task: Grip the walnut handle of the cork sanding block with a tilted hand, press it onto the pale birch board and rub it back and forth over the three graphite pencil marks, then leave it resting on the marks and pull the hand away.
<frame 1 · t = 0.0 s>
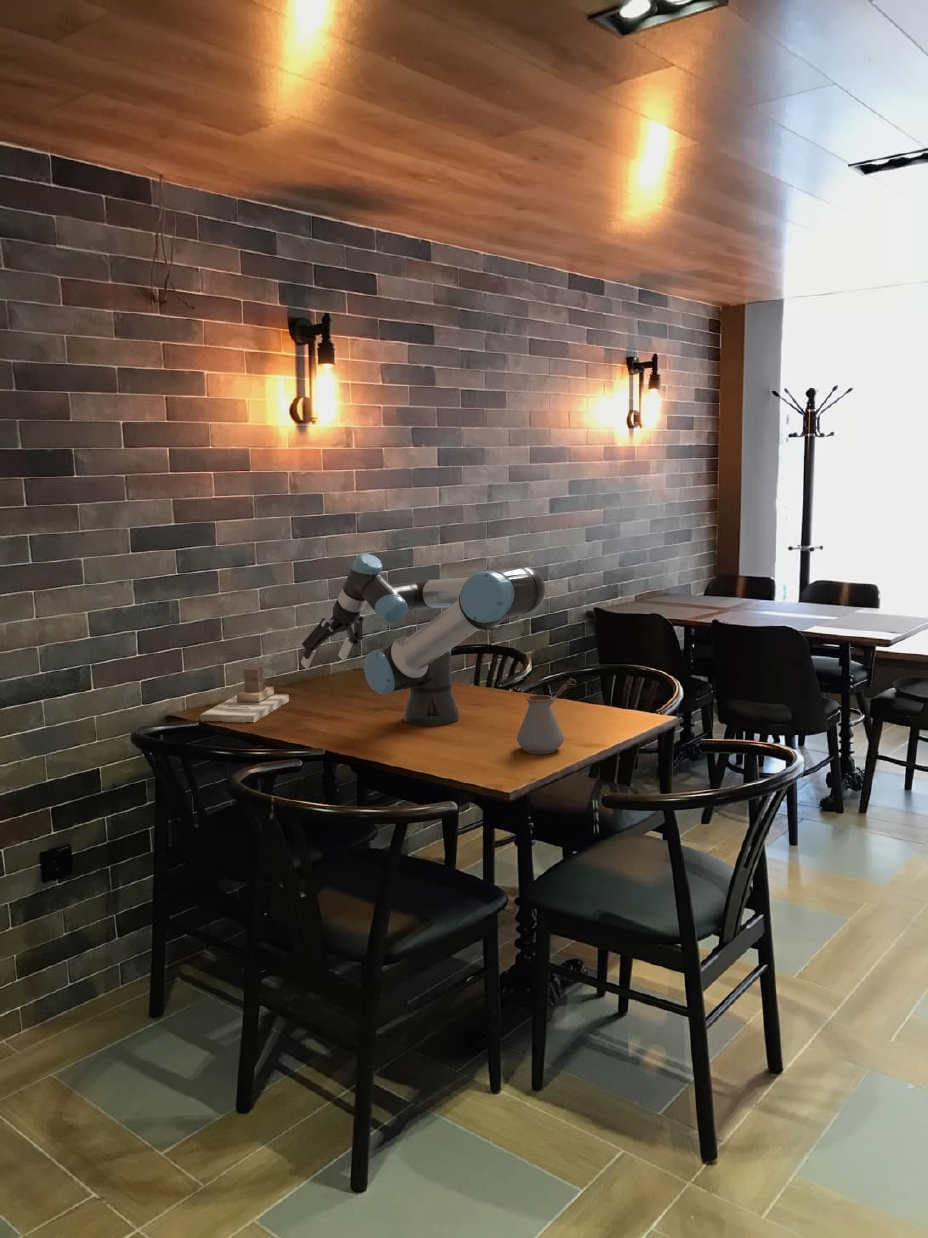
hand: (323, 661, 276), 15 cm above the table, tool tilted 35°, fingers open, 13 cm apart
coffee pot: (551, 745, 240), on the table
birch board: (246, 710, 286), on the table
sanding block: (255, 698, 292), point 2 cm above the table, touching birch board
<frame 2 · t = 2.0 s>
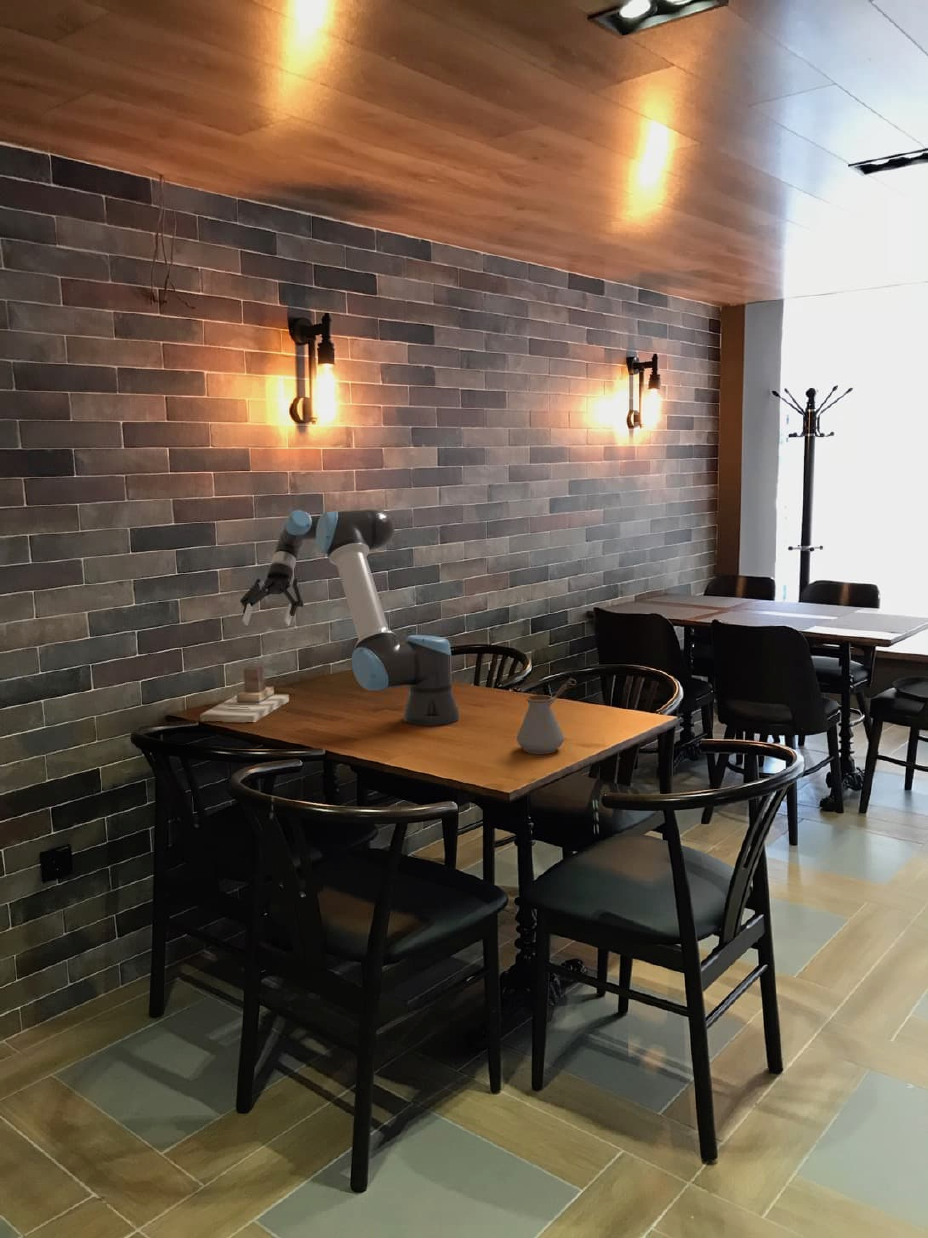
hand: (265, 623, 300), 23 cm above the table, tool tilted 45°, fingers open, 13 cm apart
nothing on the table moved.
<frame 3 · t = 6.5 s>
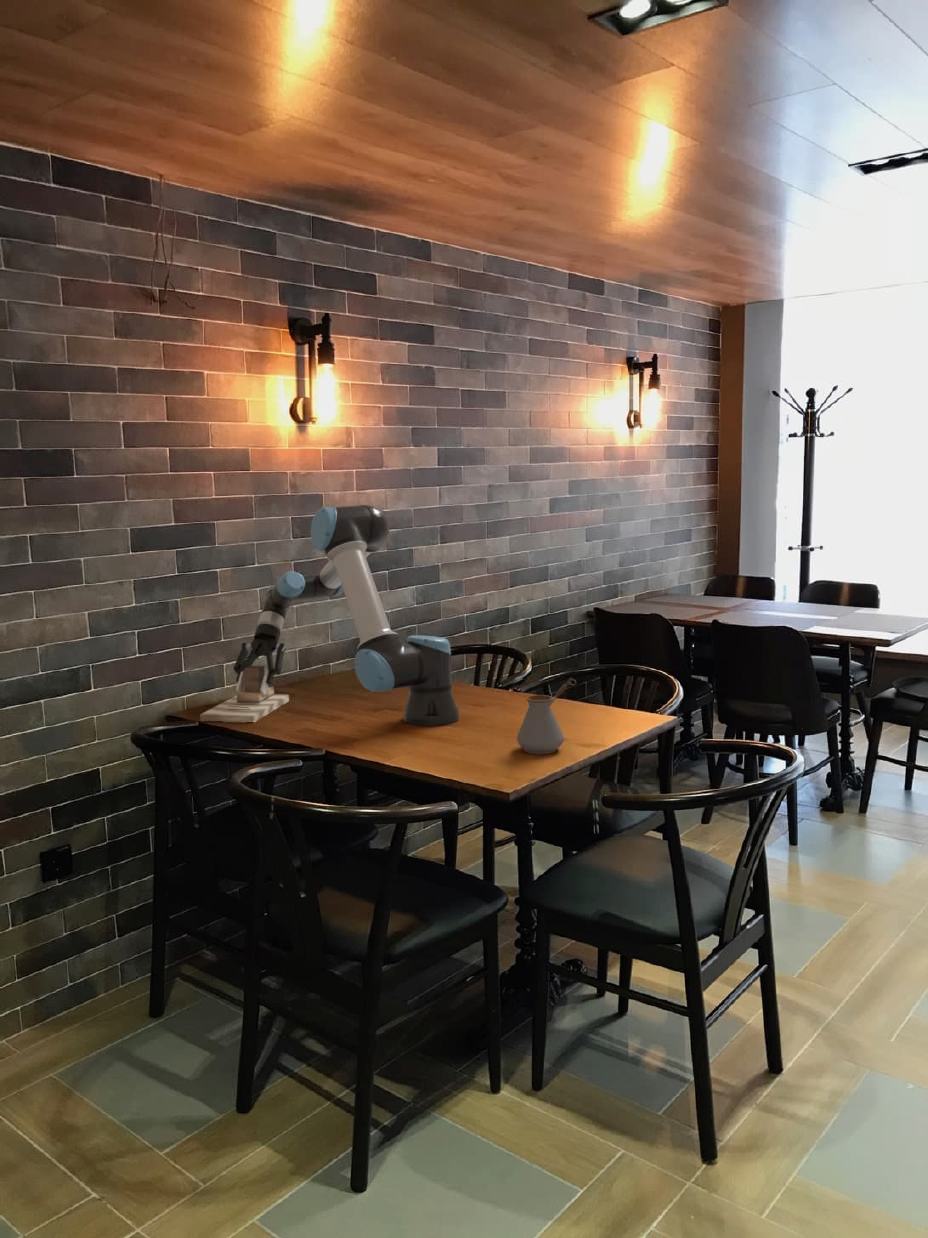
hand: (250, 692, 288), 5 cm above the table, tool tilted 45°, fingers closed on sanding block, 7 cm apart
sanding block: (255, 698, 292), point 2 cm above the table, touching birch board, gripper
everything else where it was.
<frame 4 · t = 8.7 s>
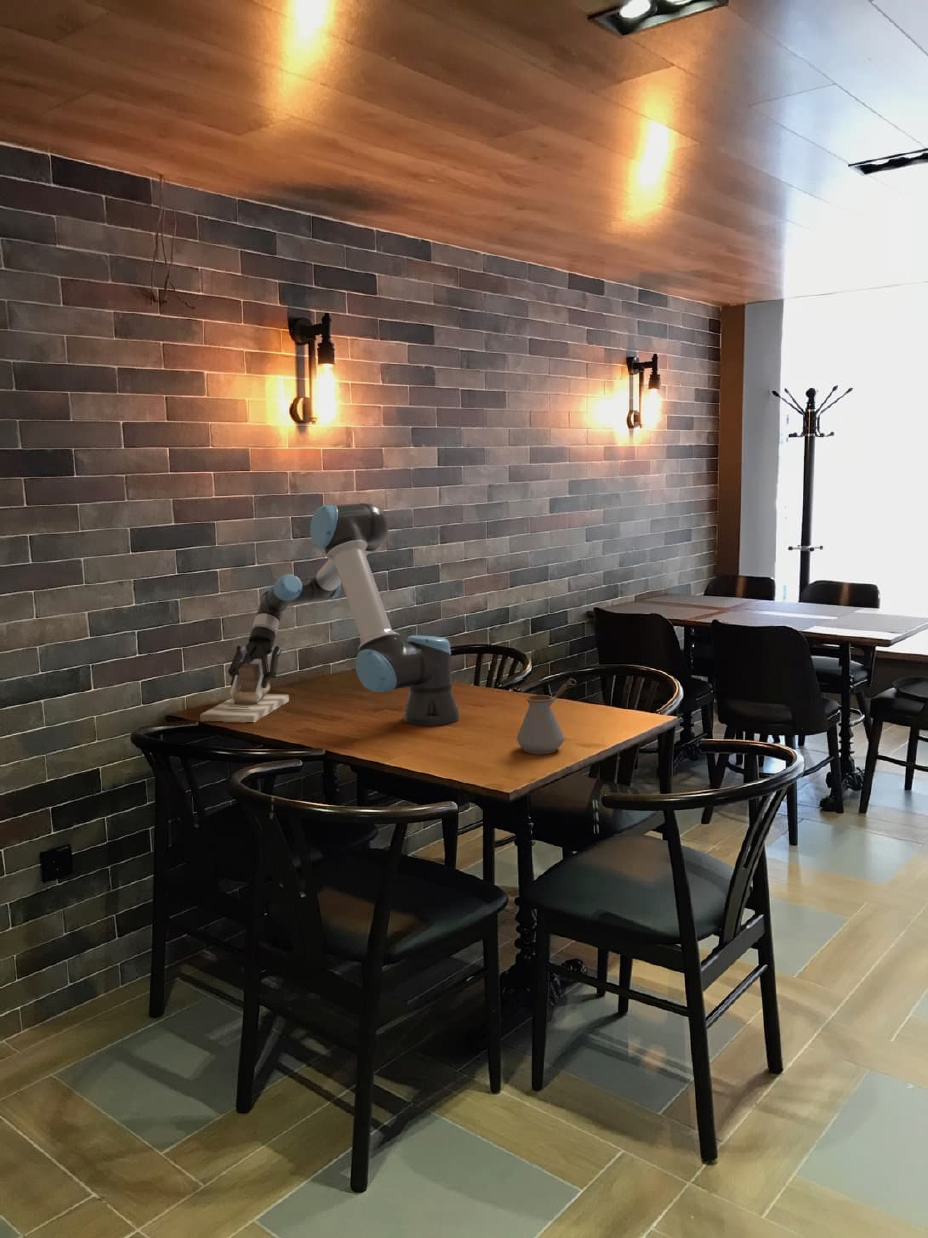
hand: (245, 696, 286), 4 cm above the table, tool tilted 45°, fingers closed on sanding block, 7 cm apart
sanding block: (252, 696, 291), point 3 cm above the table, tilted 10°, touching birch board, gripper
everything else where it was.
when the fingers open (5 cm above the table, at t = 16.7 s): sanding block drops 2 cm, resting on birch board.
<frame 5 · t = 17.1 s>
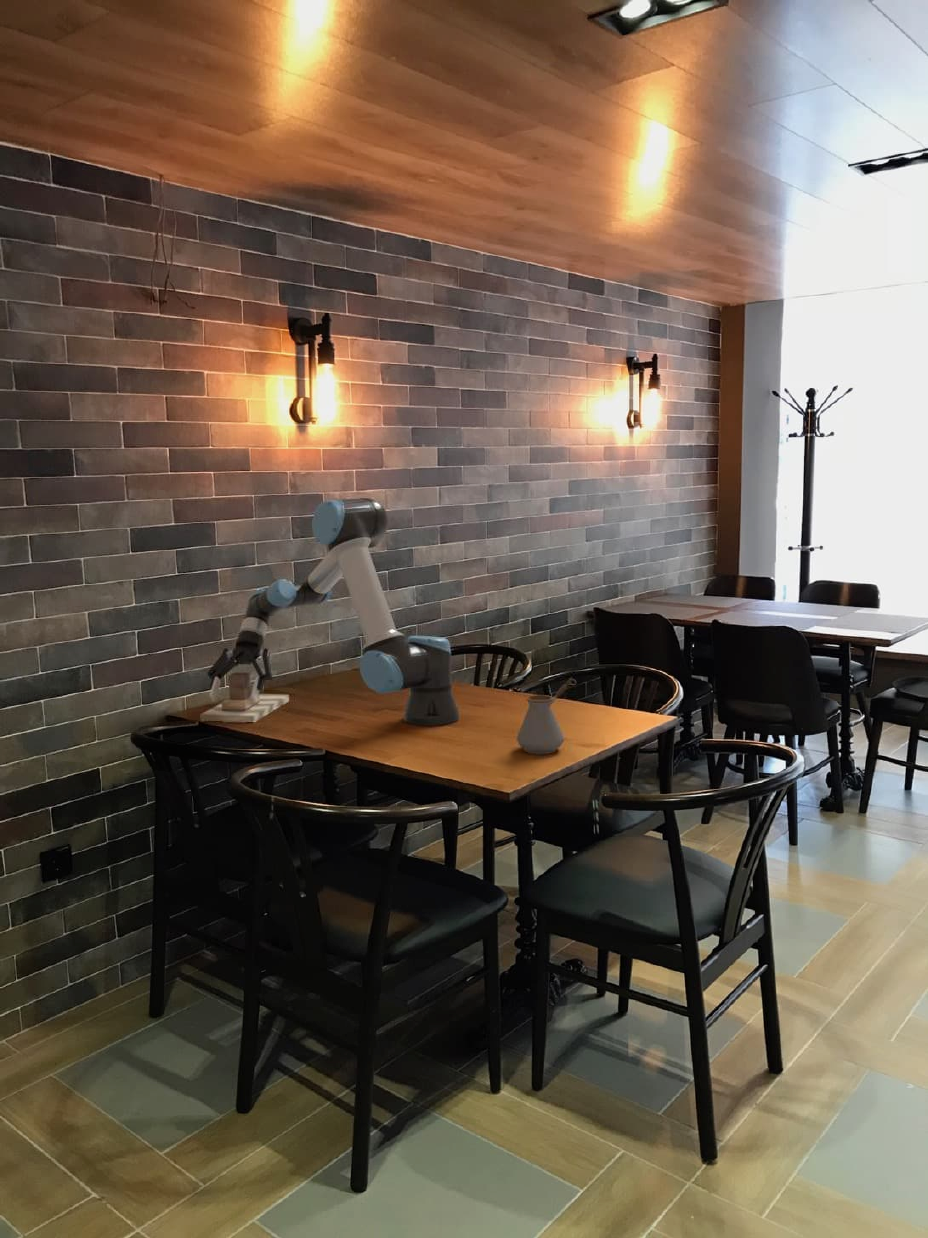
hand: (232, 699, 277), 6 cm above the table, tool tilted 45°, fingers open, 12 cm apart
sanding block: (241, 706, 283), point 2 cm above the table, touching birch board
everything else where it was.
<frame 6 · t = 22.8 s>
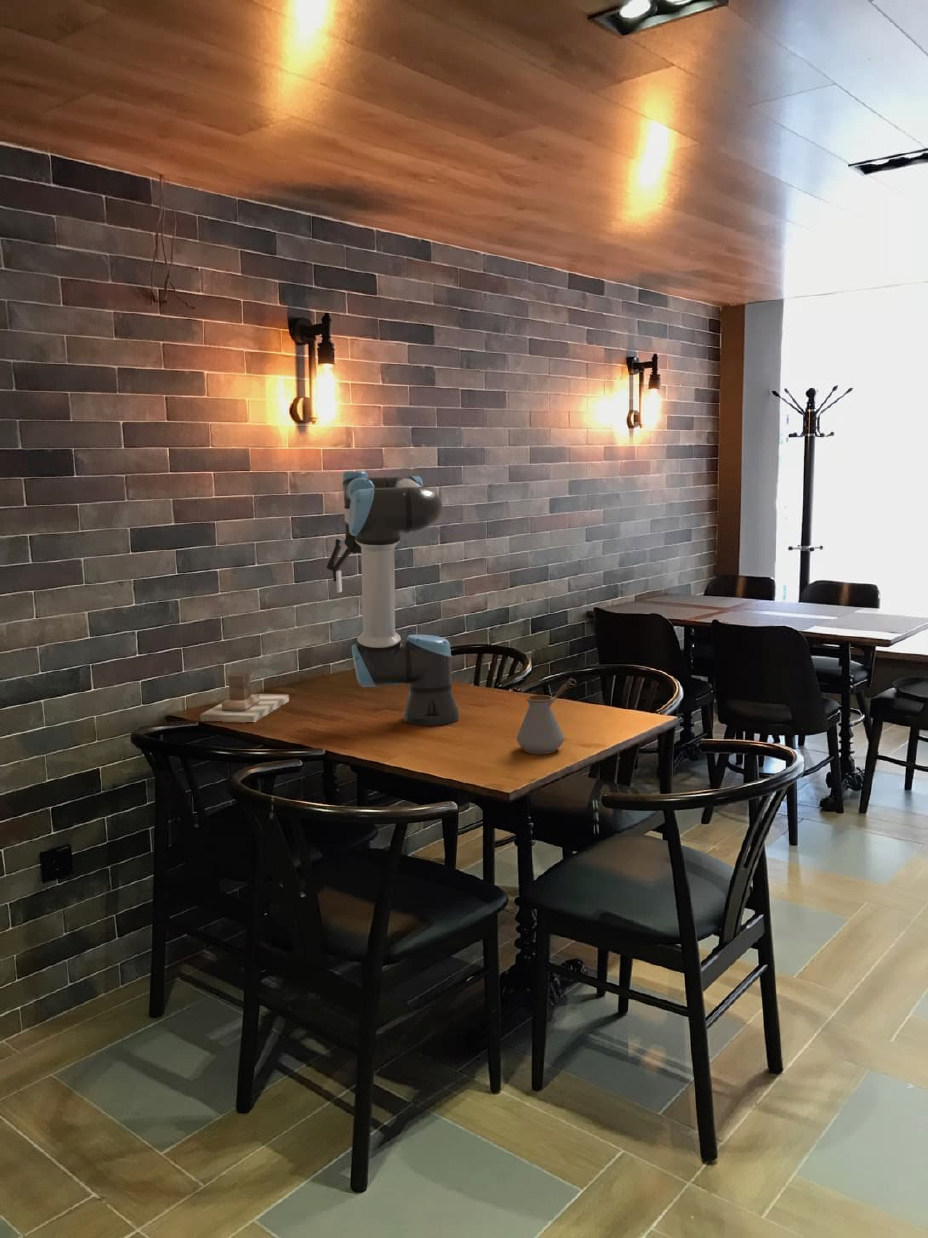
hand: (360, 592, 300), 32 cm above the table, tool pointing down, fingers open, 13 cm apart
nothing on the table moved.
at the end: sanding block inside the target area on the birch board (3.1 cm from its centre), point 2.0 cm above the birch board's base; sanding block tilted 0°; sanding block touching birch board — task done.
